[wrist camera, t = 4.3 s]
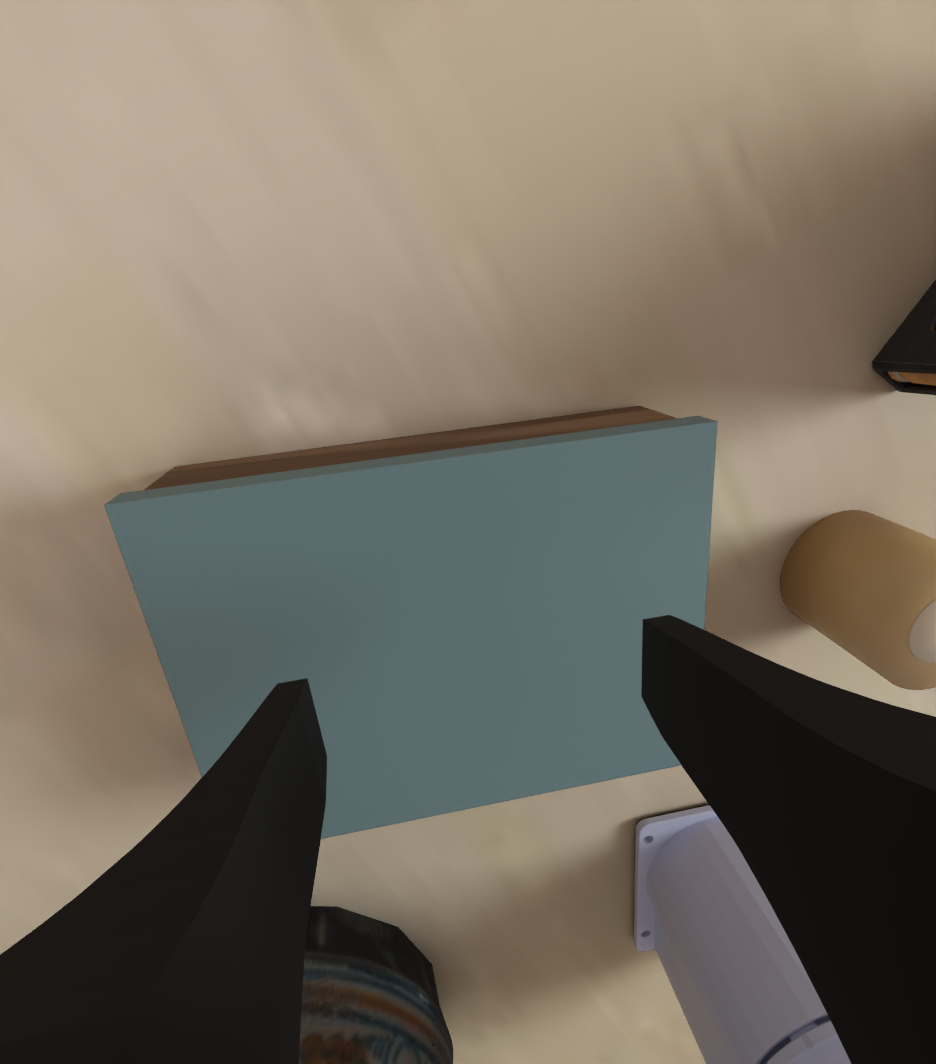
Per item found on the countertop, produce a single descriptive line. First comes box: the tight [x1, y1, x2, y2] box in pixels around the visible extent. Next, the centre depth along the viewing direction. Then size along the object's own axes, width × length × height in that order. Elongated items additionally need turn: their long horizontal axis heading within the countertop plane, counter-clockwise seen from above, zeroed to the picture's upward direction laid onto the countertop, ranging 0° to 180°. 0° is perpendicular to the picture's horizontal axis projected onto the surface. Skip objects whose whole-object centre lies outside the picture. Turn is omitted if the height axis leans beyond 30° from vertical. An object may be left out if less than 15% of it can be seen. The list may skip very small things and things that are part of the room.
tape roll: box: [780, 510, 936, 690], centre depth 22 cm, size 5×5×5 cm
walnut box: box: [144, 406, 677, 490], centre depth 20 cm, size 12×16×4 cm
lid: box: [104, 416, 717, 839], centre depth 18 cm, size 12×16×1 cm
